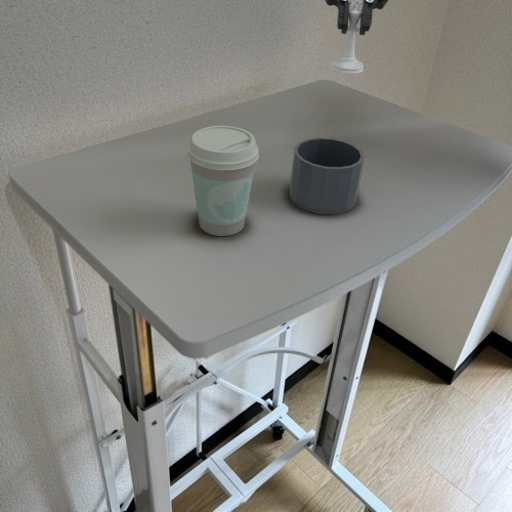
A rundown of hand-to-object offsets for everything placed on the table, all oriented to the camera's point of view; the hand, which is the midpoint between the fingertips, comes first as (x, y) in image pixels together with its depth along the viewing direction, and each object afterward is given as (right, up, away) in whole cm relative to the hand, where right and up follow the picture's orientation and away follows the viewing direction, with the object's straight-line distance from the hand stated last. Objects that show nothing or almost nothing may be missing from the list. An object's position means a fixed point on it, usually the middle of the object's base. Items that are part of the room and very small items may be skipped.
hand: (353, 31), depth 77 cm
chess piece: (0, -4, +5) cm, 6 cm away
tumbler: (-4, -23, +1) cm, 24 cm away
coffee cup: (-18, -28, -5) cm, 34 cm away
